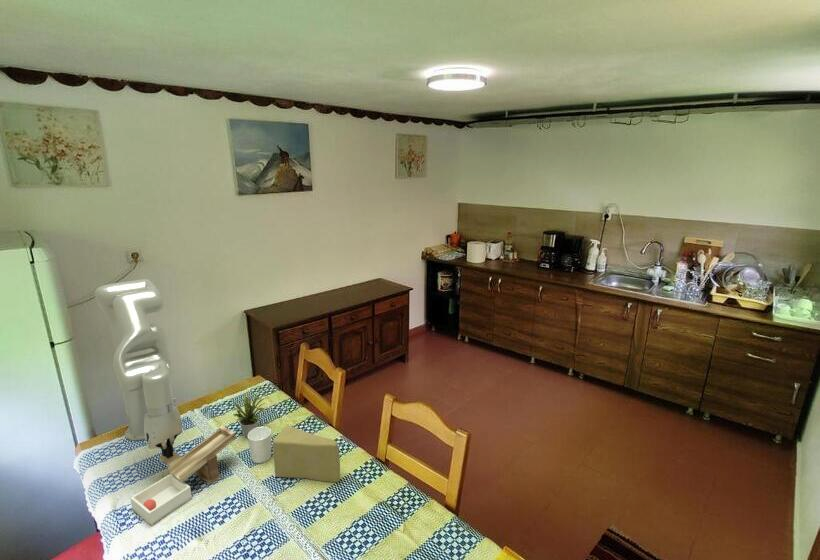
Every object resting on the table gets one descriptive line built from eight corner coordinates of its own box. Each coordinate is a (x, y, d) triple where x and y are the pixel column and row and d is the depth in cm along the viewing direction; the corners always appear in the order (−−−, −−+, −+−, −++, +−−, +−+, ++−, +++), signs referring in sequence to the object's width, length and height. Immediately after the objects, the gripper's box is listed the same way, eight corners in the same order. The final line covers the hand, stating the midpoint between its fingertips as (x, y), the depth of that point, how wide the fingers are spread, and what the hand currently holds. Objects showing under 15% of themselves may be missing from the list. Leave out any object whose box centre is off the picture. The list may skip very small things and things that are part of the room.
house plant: (280, 431, 161) (277, 395, 157) (250, 450, 150) (246, 412, 146) (256, 419, 169) (254, 384, 164) (226, 436, 157) (222, 399, 153)
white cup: (265, 466, 143) (263, 441, 140) (245, 462, 144) (243, 438, 141) (276, 451, 150) (275, 428, 147) (257, 448, 152) (255, 425, 149)
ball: (154, 496, 125) (149, 508, 124) (142, 498, 122) (138, 510, 121) (160, 501, 123) (155, 513, 122) (149, 503, 120) (144, 515, 119)
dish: (132, 509, 123) (130, 497, 122) (172, 484, 133) (171, 473, 132) (151, 526, 118) (149, 513, 117) (191, 498, 128) (190, 486, 127)
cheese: (345, 471, 141) (345, 434, 137) (333, 492, 132) (332, 453, 128) (289, 458, 147) (286, 422, 143) (273, 477, 138) (270, 439, 134)
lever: (156, 465, 134) (152, 456, 133) (210, 426, 150) (207, 417, 148) (183, 485, 127) (179, 475, 125) (237, 441, 142) (234, 432, 140)
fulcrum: (193, 472, 139) (190, 450, 136) (204, 466, 142) (201, 444, 139) (210, 484, 134) (207, 461, 131) (221, 477, 137) (218, 454, 135)
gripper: (177, 393, 138) (183, 439, 143) (129, 414, 126) (138, 464, 131) (190, 400, 135) (196, 447, 139) (141, 422, 122) (150, 473, 127)
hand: (168, 455), depth 135 cm, fingers closed
